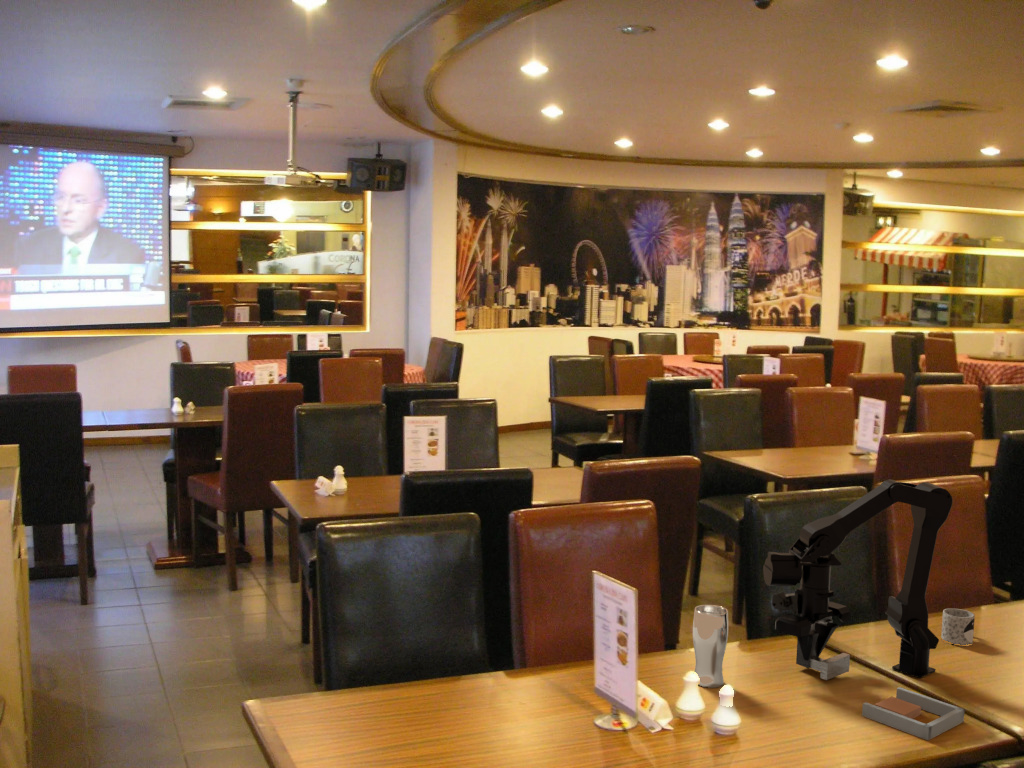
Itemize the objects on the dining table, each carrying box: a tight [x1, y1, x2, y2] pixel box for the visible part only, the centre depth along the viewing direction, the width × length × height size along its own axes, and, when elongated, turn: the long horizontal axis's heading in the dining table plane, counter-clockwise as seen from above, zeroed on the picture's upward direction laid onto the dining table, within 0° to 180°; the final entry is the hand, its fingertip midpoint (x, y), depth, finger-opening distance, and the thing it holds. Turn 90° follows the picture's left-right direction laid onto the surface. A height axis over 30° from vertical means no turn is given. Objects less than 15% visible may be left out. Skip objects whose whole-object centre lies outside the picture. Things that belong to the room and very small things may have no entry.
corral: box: [861, 687, 966, 741], centre depth 192 cm, size 13×13×2 cm
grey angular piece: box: [795, 638, 851, 681], centre depth 213 cm, size 8×9×6 cm
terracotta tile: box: [874, 696, 922, 719], centre depth 194 cm, size 6×6×2 cm
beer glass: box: [692, 604, 729, 689], centre depth 207 cm, size 7×7×15 cm
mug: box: [940, 608, 976, 645], centre depth 236 cm, size 10×7×7 cm, turn 147°
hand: (811, 658), depth 214 cm, fingers closed on grey angular piece, 3 cm apart
